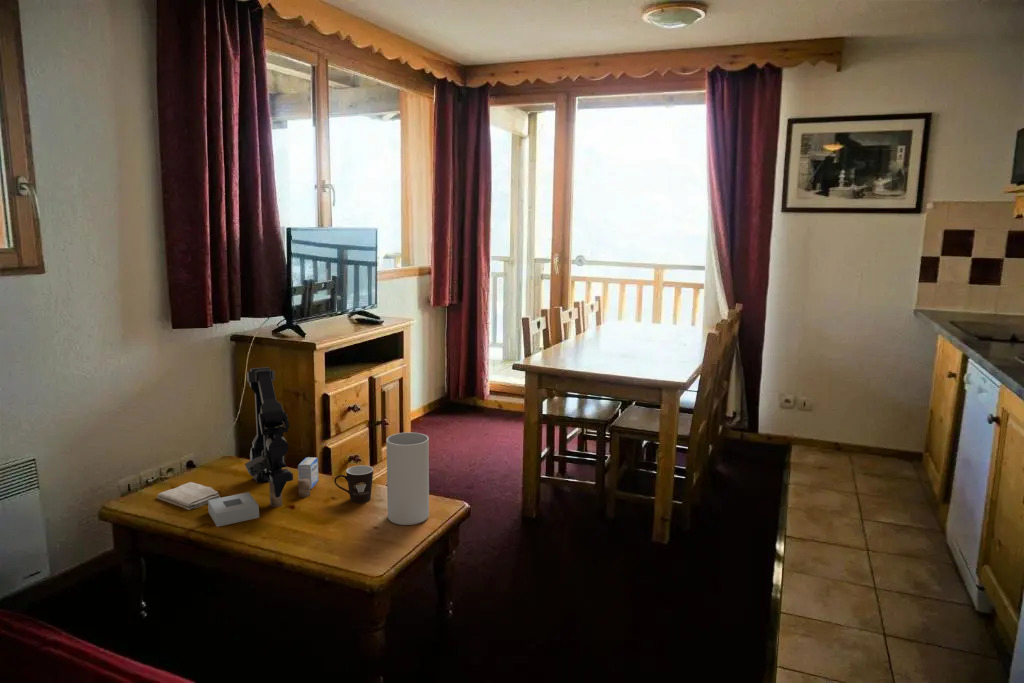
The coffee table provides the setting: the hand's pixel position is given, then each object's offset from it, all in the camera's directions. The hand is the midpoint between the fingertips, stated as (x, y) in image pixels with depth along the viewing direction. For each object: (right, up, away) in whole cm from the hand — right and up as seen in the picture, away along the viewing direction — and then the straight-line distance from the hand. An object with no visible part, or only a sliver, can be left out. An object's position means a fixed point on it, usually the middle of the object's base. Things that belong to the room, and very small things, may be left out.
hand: (275, 495), depth 215 cm
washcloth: (-29, -3, +5) cm, 30 cm away
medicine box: (+5, -1, +17) cm, 18 cm away
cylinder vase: (+43, -5, -7) cm, 44 cm away
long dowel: (0, -3, +1) cm, 3 cm away
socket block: (-10, -4, -8) cm, 13 cm away
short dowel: (+7, -2, +9) cm, 11 cm away
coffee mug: (+24, -3, +6) cm, 25 cm away
